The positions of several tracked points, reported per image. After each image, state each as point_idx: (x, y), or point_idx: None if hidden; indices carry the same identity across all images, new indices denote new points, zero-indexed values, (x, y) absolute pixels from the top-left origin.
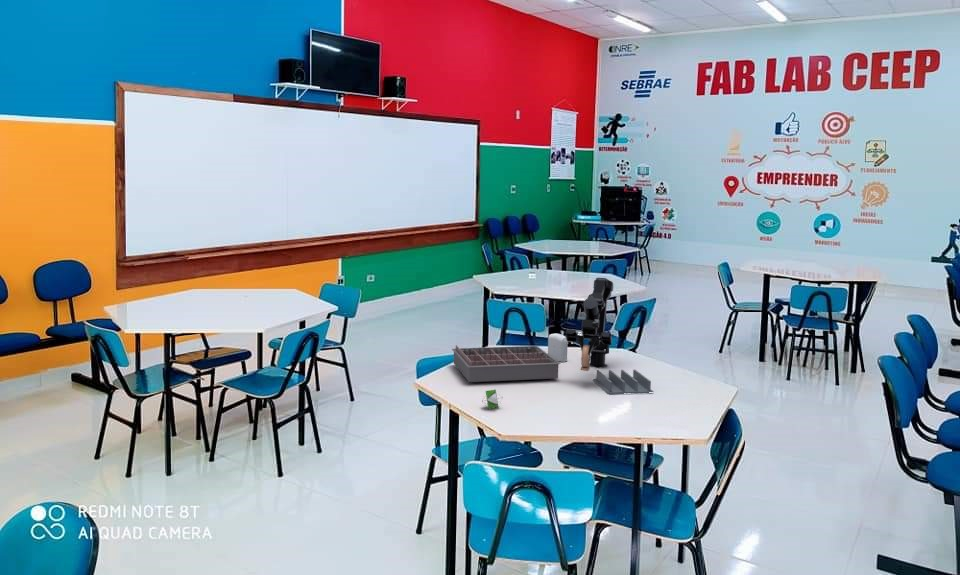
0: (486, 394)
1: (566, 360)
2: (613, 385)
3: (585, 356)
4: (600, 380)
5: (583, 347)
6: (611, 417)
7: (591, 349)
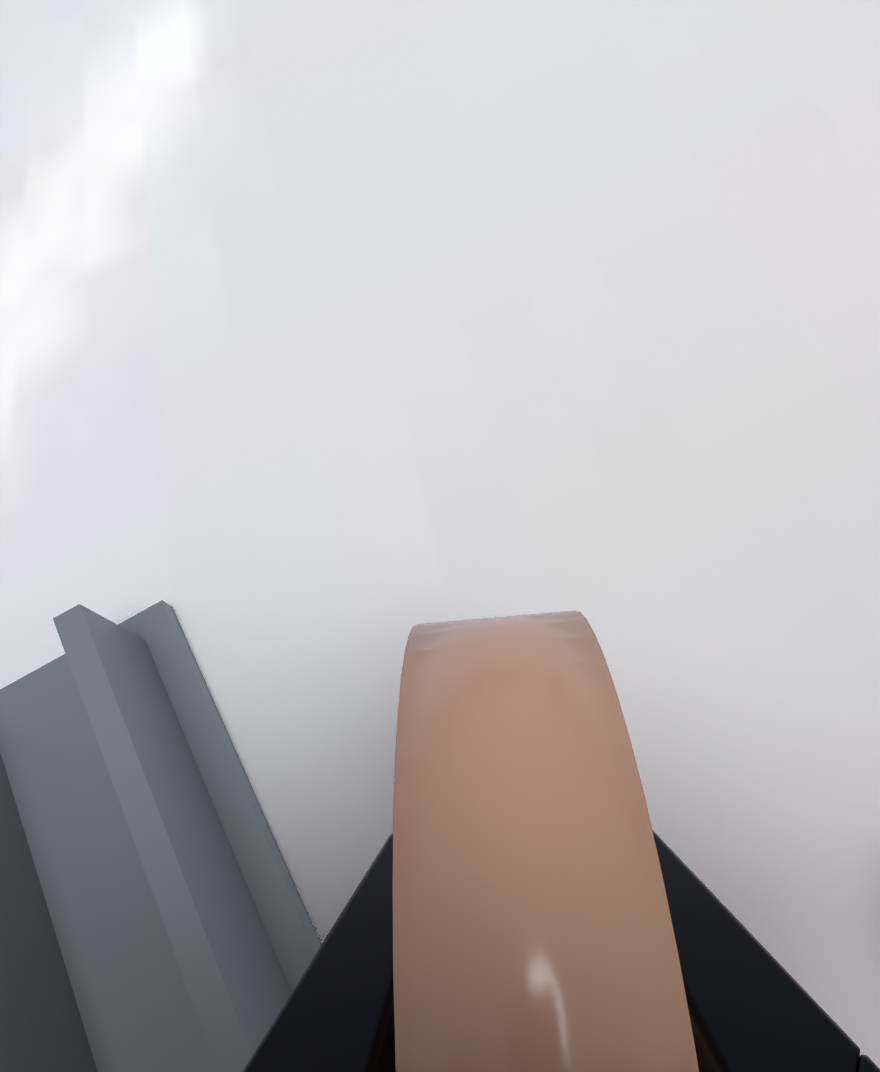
0: None
1: None
2: (105, 975)
3: (459, 621)
4: None
5: (607, 760)
6: (114, 86)
7: (308, 1008)
